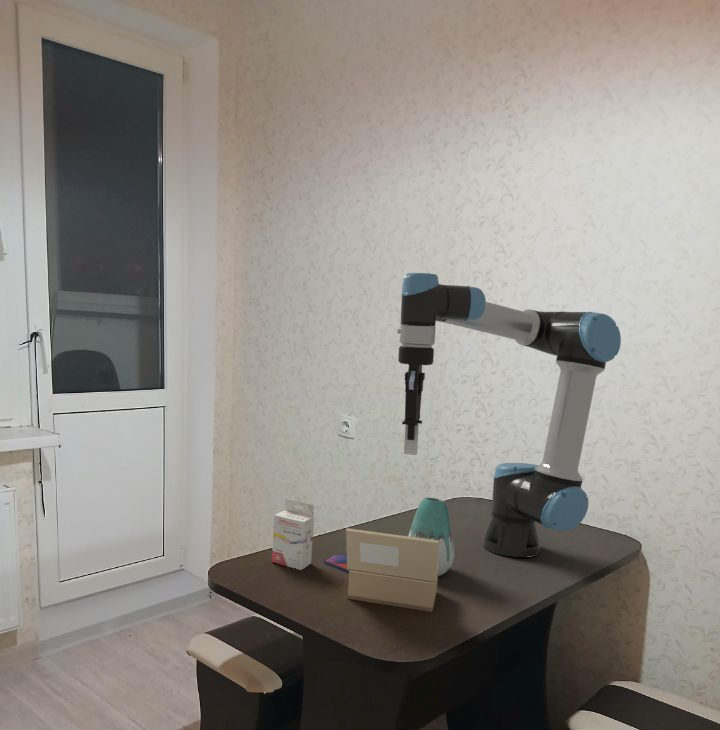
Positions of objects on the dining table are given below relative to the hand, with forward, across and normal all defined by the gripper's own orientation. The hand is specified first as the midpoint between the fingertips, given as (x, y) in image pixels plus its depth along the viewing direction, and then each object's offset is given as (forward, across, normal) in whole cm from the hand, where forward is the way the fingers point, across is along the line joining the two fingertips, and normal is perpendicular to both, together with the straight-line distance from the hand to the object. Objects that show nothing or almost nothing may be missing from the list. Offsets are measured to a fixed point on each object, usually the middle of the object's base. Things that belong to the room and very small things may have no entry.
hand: (410, 453), depth 138 cm
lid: (+19, +10, -2) cm, 22 cm away
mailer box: (+31, +4, -2) cm, 31 cm away
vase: (+31, -12, +4) cm, 34 cm away
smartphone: (+31, -8, -13) cm, 35 cm away
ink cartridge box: (+31, -6, -28) cm, 42 cm away
